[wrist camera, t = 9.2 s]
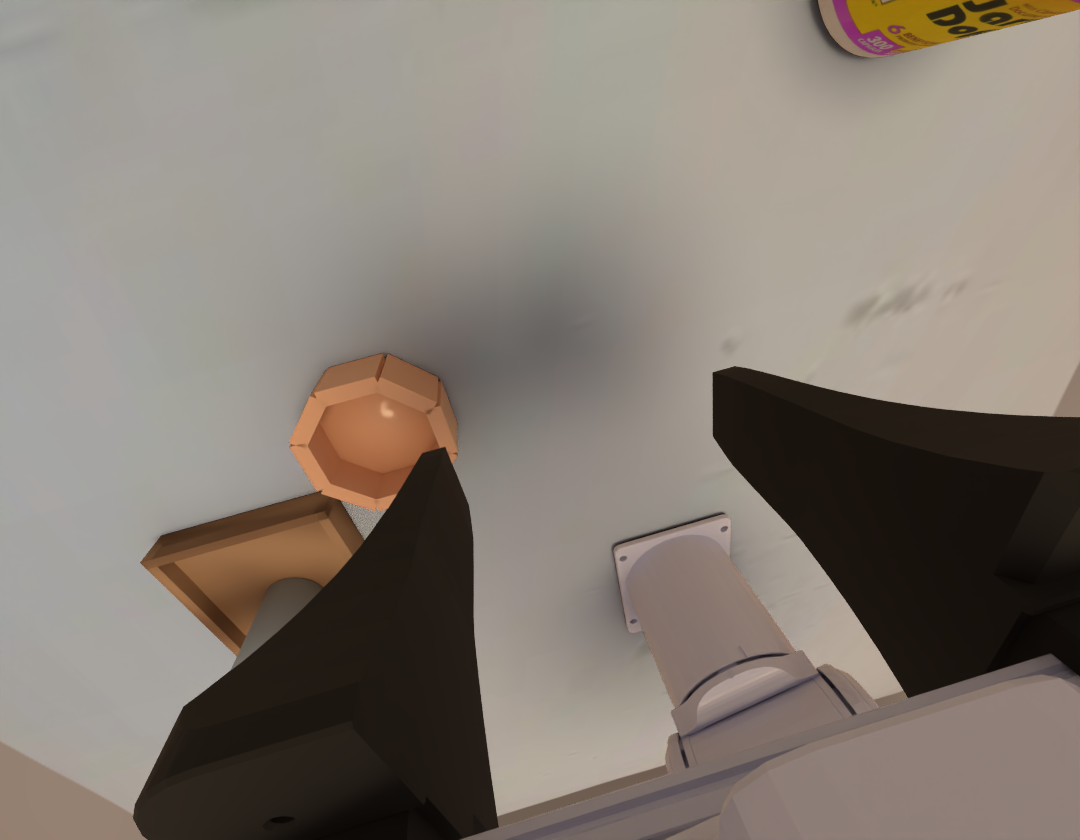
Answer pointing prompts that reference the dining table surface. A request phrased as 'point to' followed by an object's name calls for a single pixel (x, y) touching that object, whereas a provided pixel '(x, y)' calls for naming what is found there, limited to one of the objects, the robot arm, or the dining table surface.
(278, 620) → the dowel
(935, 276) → the dining table surface
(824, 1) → the supplement bottle
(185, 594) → the tray
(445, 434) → the orange octagonal bowl
